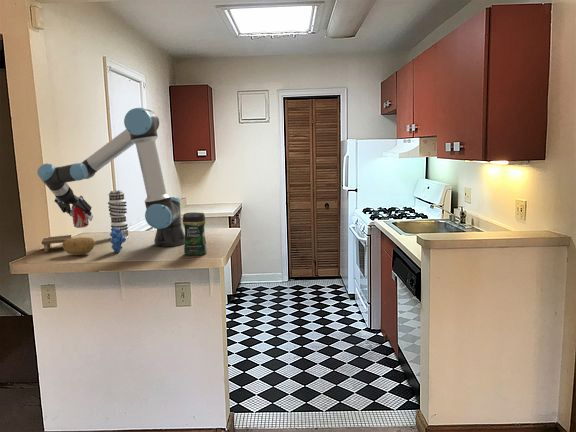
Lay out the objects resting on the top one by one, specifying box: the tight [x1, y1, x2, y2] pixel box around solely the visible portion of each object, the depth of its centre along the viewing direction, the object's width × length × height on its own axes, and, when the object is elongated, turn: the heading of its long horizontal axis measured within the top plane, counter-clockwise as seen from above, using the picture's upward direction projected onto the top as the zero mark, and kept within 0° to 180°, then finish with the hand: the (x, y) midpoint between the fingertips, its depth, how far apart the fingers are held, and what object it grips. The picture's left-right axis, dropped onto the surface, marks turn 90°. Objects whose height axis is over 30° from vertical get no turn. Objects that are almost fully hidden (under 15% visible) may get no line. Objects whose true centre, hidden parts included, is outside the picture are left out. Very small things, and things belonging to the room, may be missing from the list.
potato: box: [61, 236, 96, 256], centre depth 211 cm, size 10×14×8 cm
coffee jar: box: [182, 212, 208, 256], centre depth 206 cm, size 10×8×19 cm
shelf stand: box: [41, 234, 72, 253], centre depth 225 cm, size 12×12×5 cm
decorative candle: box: [107, 190, 129, 240], centre depth 246 cm, size 9×9×25 cm
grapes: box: [109, 227, 127, 254], centre depth 214 cm, size 12×7×12 cm, turn 4°
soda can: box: [71, 204, 90, 229], centre depth 234 cm, size 7×7×12 cm
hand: (84, 218), depth 237 cm, fingers closed on soda can, 7 cm apart
